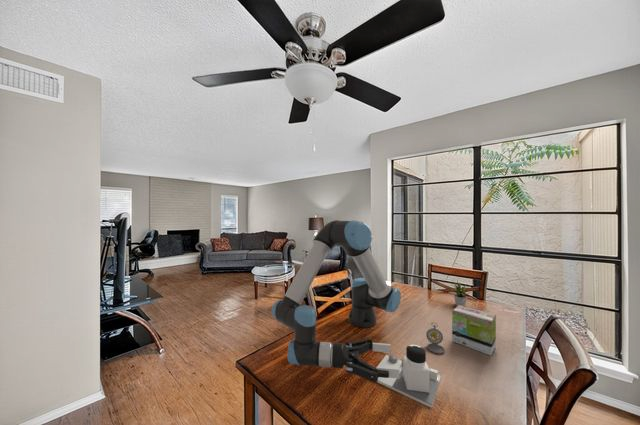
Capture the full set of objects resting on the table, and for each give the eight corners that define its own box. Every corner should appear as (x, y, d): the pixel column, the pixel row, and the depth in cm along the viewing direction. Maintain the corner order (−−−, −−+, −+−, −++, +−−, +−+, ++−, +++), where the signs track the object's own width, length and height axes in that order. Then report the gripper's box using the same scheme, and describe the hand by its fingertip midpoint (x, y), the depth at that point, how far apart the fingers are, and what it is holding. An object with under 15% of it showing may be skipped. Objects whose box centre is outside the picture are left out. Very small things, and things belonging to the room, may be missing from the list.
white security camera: (430, 393, 73) (430, 355, 73) (406, 390, 74) (406, 352, 74) (424, 377, 80) (424, 343, 80) (402, 375, 81) (402, 341, 81)
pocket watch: (435, 355, 94) (435, 331, 94) (421, 344, 102) (421, 322, 102) (451, 352, 96) (451, 329, 96) (436, 342, 104) (436, 320, 105)
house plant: (440, 302, 154) (440, 277, 154) (456, 299, 158) (456, 276, 158) (459, 310, 140) (459, 283, 141) (476, 307, 145) (476, 282, 145)
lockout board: (369, 378, 80) (369, 370, 80) (386, 356, 93) (386, 349, 93) (431, 407, 68) (431, 398, 68) (441, 377, 81) (441, 369, 81)
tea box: (451, 342, 105) (451, 309, 105) (457, 334, 112) (457, 304, 112) (492, 356, 94) (492, 320, 94) (496, 347, 101) (496, 313, 101)
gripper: (333, 345, 92) (387, 349, 90) (329, 392, 67) (403, 400, 65) (334, 326, 92) (387, 330, 90) (329, 367, 68) (403, 373, 65)
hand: (394, 359), depth 78 cm, fingers open, 13 cm apart
